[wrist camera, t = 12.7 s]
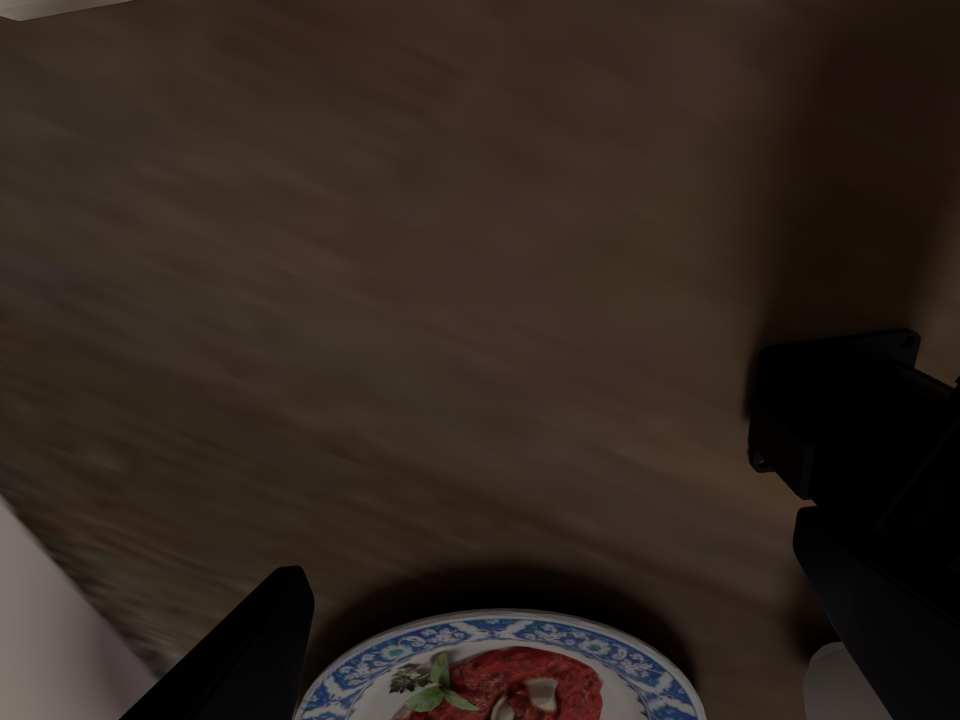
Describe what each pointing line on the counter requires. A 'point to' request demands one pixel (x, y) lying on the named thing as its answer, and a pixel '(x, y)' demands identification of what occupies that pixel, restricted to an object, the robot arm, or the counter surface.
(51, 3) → the bottle socket
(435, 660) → the ceramic plate
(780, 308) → the counter surface
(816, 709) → the white vase
